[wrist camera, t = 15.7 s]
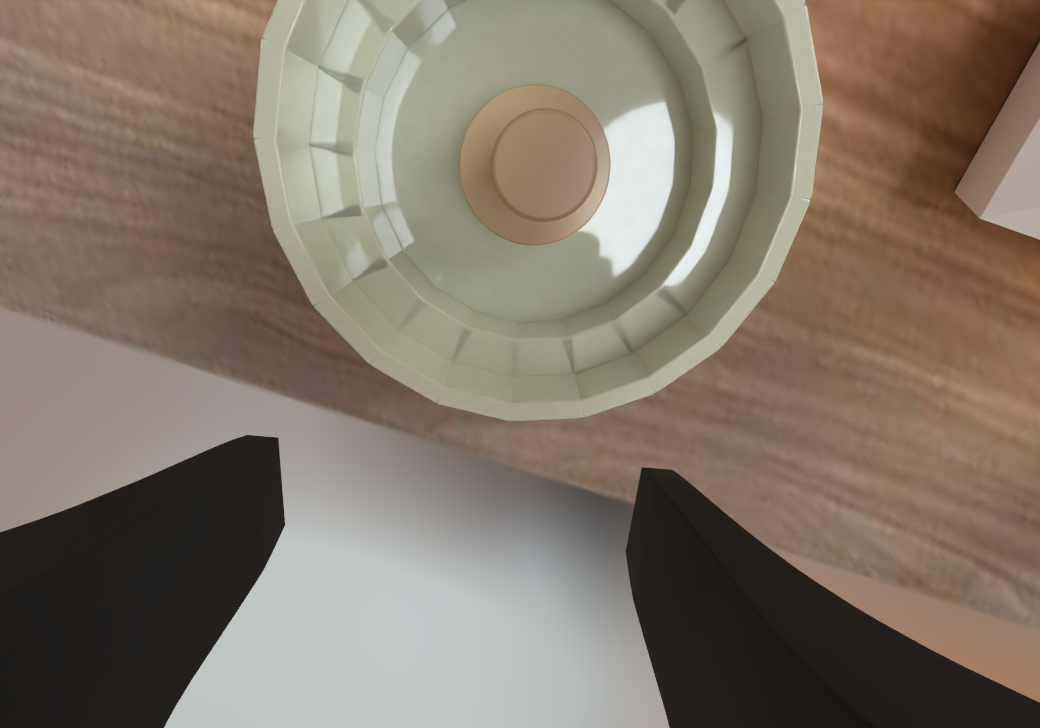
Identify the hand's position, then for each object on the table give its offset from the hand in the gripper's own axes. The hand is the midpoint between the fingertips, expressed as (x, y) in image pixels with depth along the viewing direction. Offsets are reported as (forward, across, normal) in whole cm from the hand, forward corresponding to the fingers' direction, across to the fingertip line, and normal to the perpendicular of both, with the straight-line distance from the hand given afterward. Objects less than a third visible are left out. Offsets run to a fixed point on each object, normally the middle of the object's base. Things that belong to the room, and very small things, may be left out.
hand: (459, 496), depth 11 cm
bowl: (+10, -1, -6) cm, 12 cm away
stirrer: (+10, -1, -6) cm, 12 cm away
